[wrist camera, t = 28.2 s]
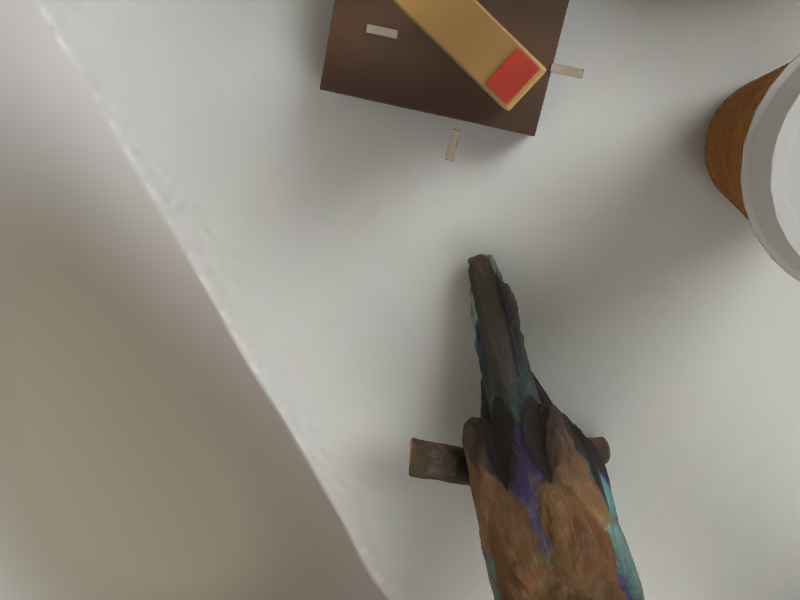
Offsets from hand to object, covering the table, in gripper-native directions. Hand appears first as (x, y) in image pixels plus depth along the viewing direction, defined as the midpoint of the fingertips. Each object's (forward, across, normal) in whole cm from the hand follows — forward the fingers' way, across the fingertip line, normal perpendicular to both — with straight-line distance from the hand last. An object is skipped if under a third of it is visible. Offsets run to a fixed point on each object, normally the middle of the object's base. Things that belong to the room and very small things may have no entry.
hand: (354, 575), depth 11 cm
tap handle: (+26, -1, +6) cm, 26 cm away
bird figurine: (+26, +5, -13) cm, 30 cm away
